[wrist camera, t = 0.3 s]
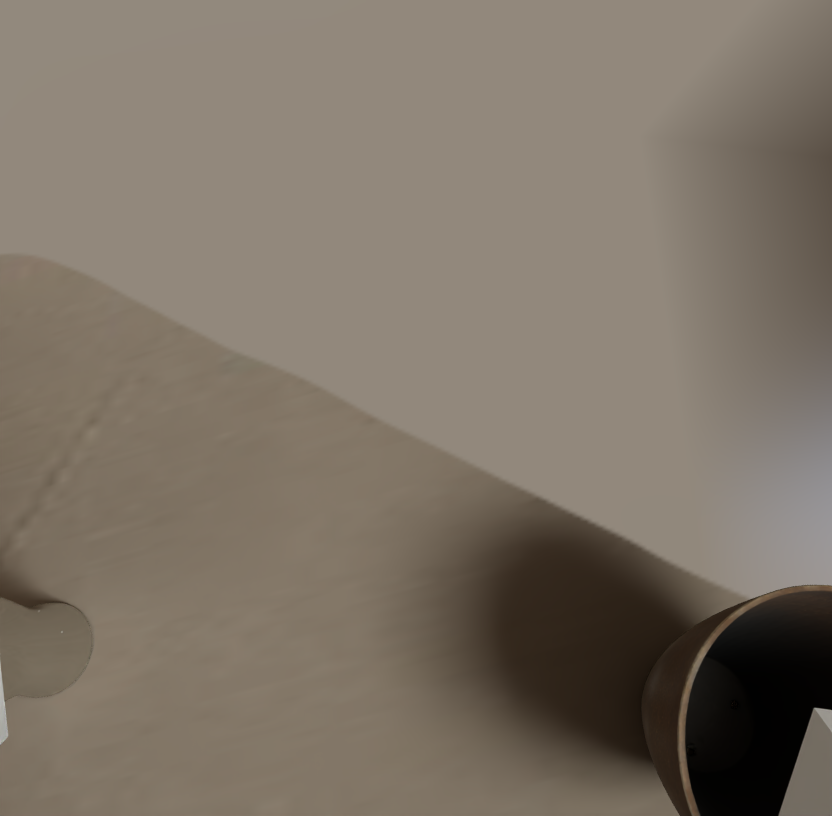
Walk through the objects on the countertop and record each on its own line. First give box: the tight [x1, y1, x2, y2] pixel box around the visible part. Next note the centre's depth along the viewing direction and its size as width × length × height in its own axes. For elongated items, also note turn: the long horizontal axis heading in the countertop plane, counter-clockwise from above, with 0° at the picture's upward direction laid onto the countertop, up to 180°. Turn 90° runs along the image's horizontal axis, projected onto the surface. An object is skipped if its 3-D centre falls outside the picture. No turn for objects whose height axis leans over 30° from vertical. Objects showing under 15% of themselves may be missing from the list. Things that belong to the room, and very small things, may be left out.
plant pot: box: [641, 585, 832, 816], centre depth 35 cm, size 15×15×16 cm
